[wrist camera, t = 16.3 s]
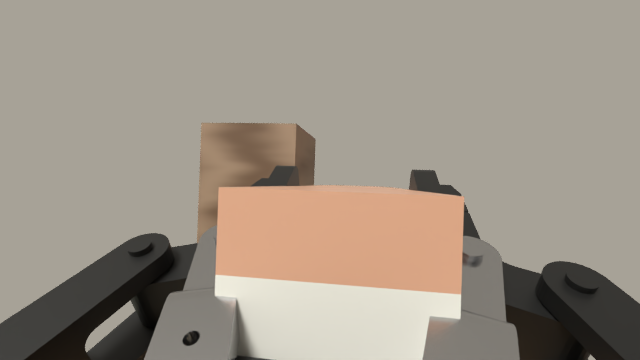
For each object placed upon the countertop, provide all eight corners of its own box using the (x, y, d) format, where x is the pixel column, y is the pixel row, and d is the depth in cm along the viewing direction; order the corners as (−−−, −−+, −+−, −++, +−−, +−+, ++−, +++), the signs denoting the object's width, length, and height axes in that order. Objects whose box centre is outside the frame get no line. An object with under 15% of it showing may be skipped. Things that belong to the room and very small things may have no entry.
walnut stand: (302, 482, 30) (315, 139, 30) (279, 589, 22) (296, 123, 22) (231, 469, 31) (244, 138, 31) (184, 567, 23) (201, 122, 23)
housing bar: (386, 227, 24) (387, 187, 24) (458, 393, 5) (464, 196, 5) (332, 225, 24) (333, 185, 24) (211, 362, 6) (218, 186, 6)
